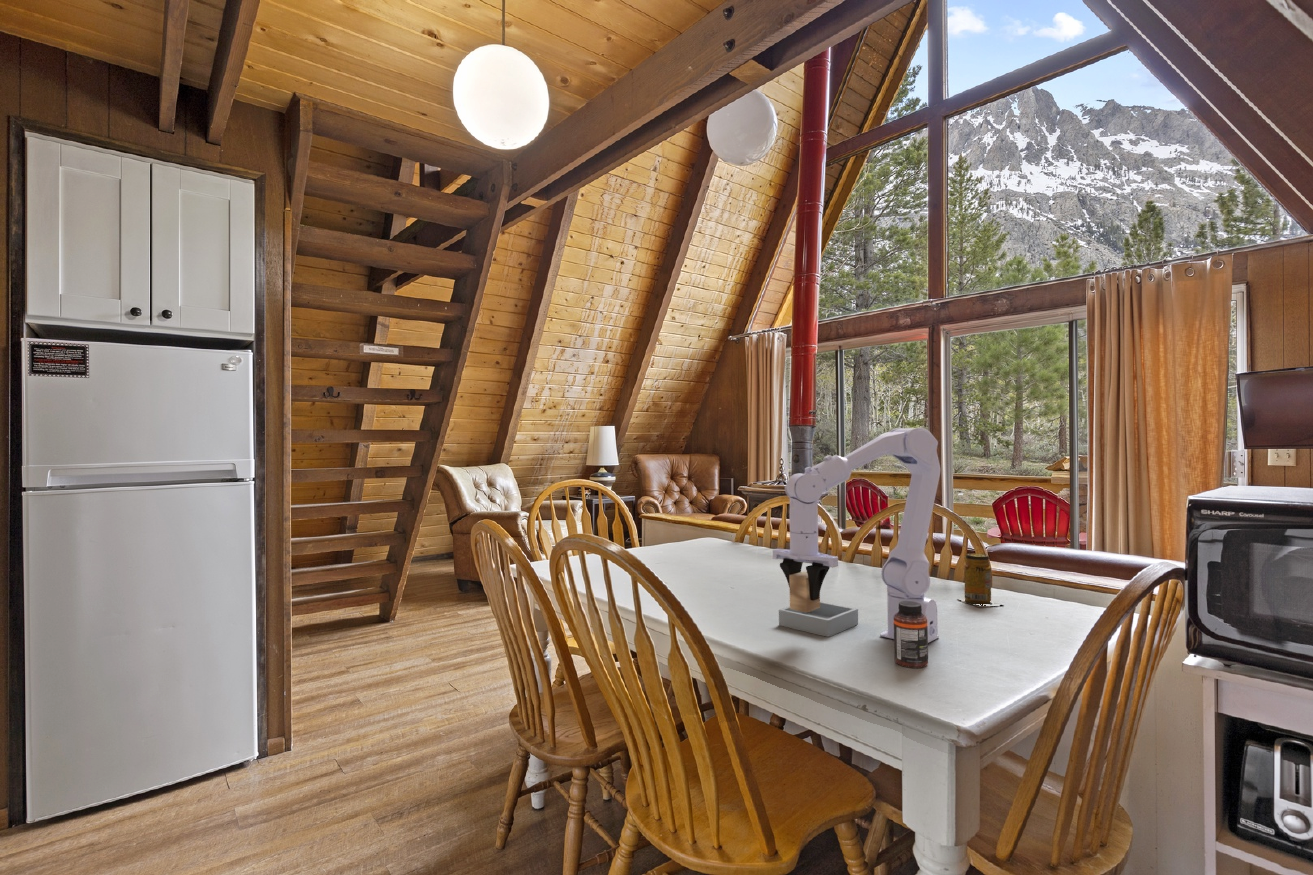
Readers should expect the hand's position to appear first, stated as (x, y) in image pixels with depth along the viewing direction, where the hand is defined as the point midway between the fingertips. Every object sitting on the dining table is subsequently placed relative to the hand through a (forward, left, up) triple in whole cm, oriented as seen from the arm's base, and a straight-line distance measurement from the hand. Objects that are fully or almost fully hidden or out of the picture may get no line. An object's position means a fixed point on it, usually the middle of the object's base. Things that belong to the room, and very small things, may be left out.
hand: (804, 597), depth 136 cm
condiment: (-14, -57, -10) cm, 59 cm away
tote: (+5, -13, -9) cm, 17 cm away
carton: (0, 0, -2) cm, 2 cm away
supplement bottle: (-21, -3, -10) cm, 23 cm away
